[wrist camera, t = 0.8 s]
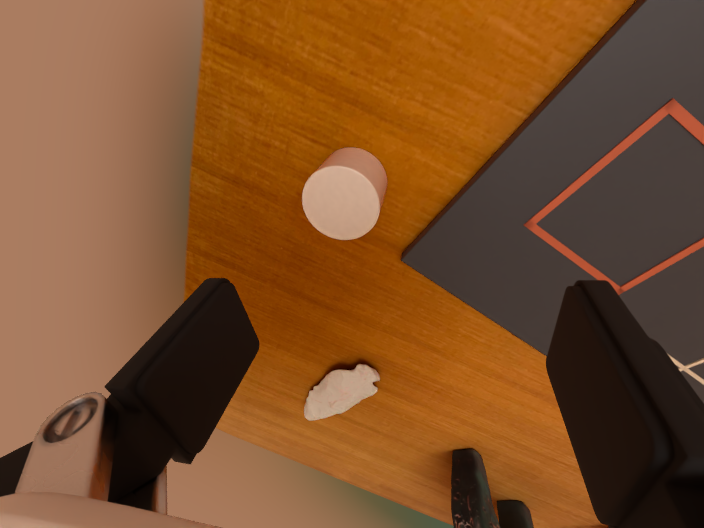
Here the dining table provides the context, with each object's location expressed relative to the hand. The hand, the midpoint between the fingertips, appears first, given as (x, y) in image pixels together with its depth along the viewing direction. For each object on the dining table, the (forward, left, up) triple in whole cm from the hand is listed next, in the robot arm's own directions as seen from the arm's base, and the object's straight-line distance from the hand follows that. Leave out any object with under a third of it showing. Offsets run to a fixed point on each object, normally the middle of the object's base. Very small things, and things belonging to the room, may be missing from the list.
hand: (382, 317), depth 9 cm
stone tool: (+28, -4, -15) cm, 32 cm away
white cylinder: (+2, -4, -15) cm, 16 cm away
